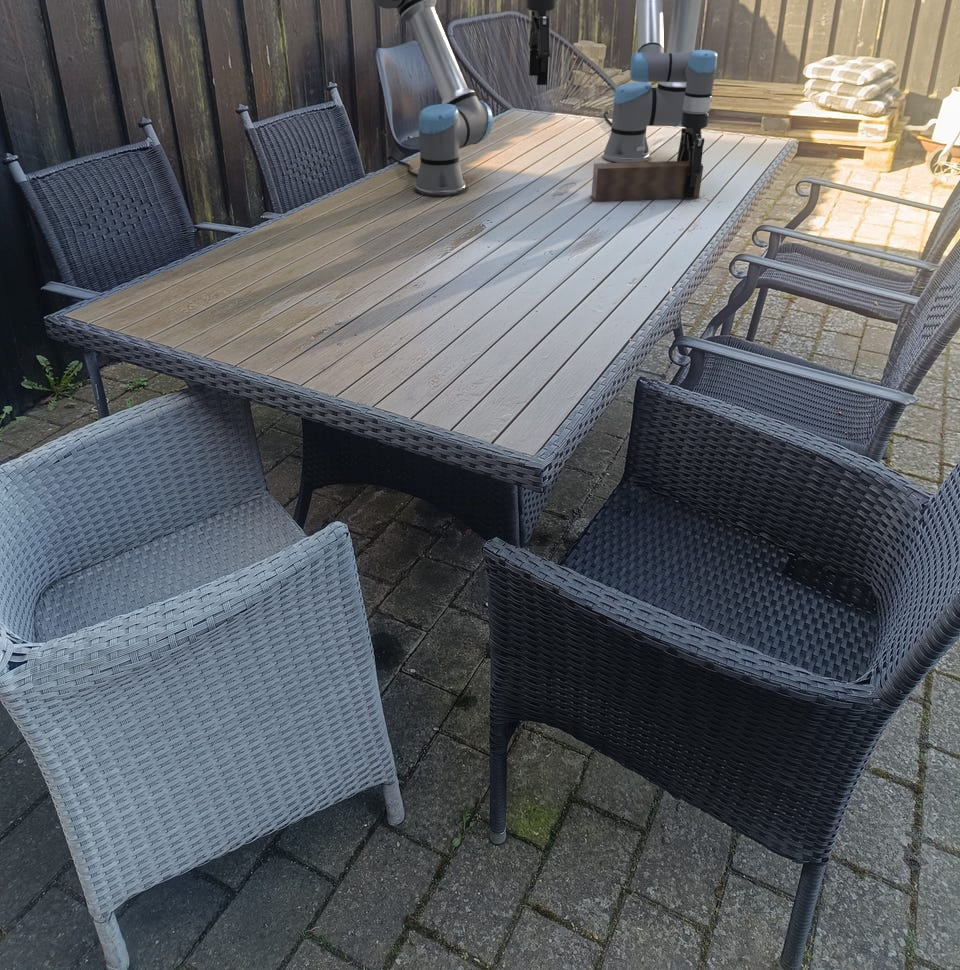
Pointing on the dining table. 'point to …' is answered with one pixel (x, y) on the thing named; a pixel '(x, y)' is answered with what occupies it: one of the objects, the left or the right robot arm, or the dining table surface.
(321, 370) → the dining table surface
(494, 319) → the dining table surface
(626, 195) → the bar
